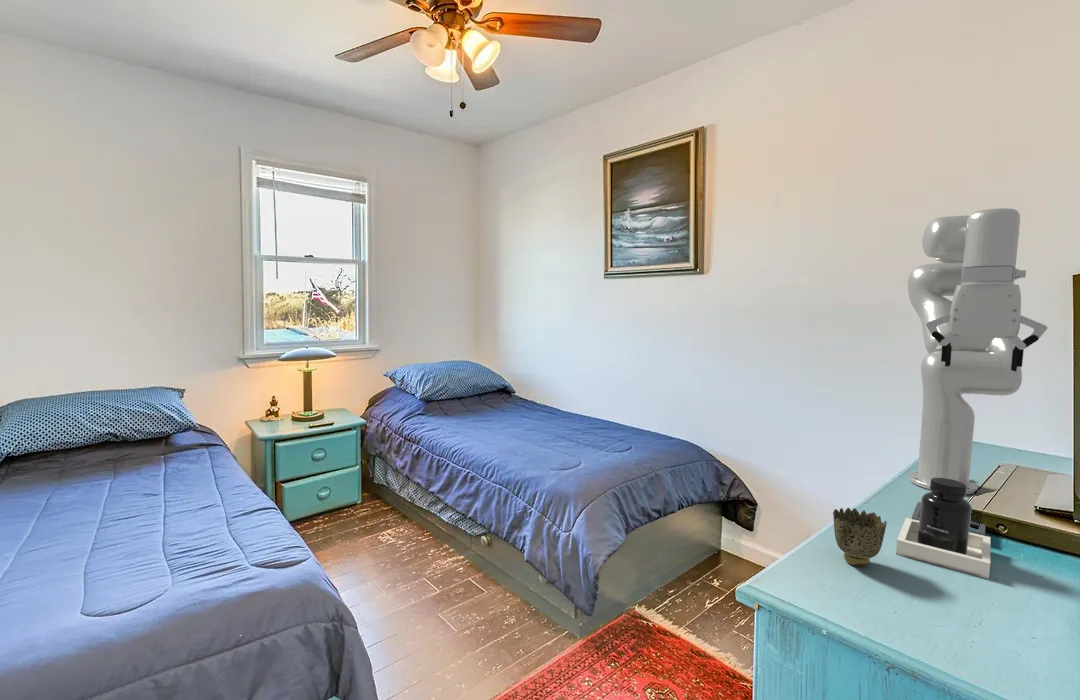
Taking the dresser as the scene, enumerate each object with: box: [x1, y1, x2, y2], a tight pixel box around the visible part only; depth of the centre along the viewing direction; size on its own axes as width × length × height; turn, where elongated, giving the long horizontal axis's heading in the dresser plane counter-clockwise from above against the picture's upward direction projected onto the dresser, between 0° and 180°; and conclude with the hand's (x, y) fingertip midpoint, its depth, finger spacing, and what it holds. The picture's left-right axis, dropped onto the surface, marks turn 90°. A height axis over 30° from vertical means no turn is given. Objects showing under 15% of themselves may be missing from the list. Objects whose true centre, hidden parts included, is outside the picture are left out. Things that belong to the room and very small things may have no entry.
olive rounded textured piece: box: [832, 507, 888, 568], centre depth 85 cm, size 8×7×8 cm
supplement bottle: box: [917, 478, 973, 555], centre depth 89 cm, size 7×7×12 cm
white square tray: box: [895, 517, 992, 580], centre depth 89 cm, size 12×12×2 cm
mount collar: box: [911, 501, 986, 536], centre depth 99 cm, size 11×11×2 cm
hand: (979, 368), depth 99 cm, fingers open, 9 cm apart
